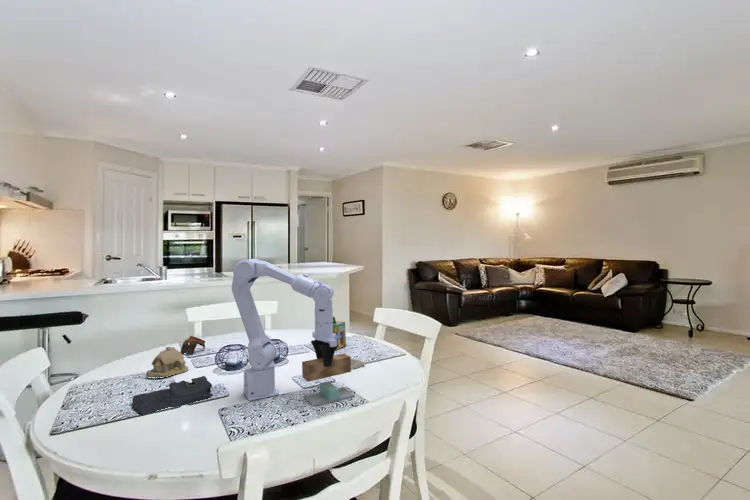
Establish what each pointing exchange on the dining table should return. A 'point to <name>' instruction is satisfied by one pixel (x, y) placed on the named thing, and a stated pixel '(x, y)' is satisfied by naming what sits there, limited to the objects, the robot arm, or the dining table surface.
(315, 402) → the board
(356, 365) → the rock
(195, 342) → the brown curved piece
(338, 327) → the chalk box
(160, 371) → the ceramic model
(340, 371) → the walnut bar
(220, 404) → the dining table surface
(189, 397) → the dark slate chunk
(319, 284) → the robot arm
